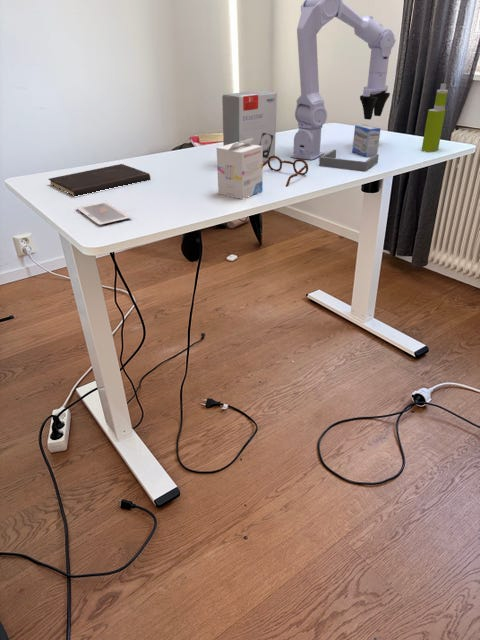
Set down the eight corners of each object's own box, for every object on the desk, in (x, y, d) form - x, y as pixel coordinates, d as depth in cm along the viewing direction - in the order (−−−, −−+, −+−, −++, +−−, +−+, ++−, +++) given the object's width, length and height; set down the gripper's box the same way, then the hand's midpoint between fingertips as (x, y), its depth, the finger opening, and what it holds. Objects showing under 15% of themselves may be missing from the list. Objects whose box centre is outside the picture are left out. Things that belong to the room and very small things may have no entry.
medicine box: (351, 152, 162) (354, 125, 158) (362, 151, 164) (365, 123, 159) (366, 157, 156) (369, 129, 151) (377, 156, 158) (381, 127, 153)
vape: (440, 149, 163) (452, 83, 153) (429, 152, 160) (441, 85, 150) (430, 147, 166) (442, 83, 155) (419, 150, 163) (430, 84, 152)
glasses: (308, 177, 140) (309, 159, 137) (286, 188, 130) (287, 169, 128) (268, 171, 146) (269, 154, 143) (245, 182, 137) (245, 163, 134)
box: (365, 171, 142) (366, 162, 140) (319, 165, 148) (319, 157, 147) (377, 162, 150) (378, 154, 149) (333, 157, 157) (333, 149, 155)
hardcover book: (50, 186, 136) (48, 178, 135) (122, 171, 149) (121, 163, 148) (75, 199, 126) (73, 190, 125) (151, 181, 139) (150, 173, 137)
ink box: (238, 186, 132) (237, 134, 125) (263, 191, 127) (263, 137, 120) (217, 194, 126) (215, 140, 119) (242, 200, 121) (241, 144, 114)
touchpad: (106, 205, 121) (105, 196, 120) (132, 221, 111) (131, 212, 110) (76, 211, 117) (74, 202, 116) (100, 229, 107) (98, 220, 106)
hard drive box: (238, 168, 147) (237, 96, 137) (222, 164, 152) (220, 94, 142) (276, 160, 155) (277, 91, 145) (260, 156, 160) (260, 89, 150)
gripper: (375, 70, 164) (370, 113, 171) (356, 73, 154) (351, 119, 161) (395, 70, 160) (390, 115, 167) (377, 74, 150) (371, 121, 157)
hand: (372, 117), depth 164 cm, fingers open, 7 cm apart
